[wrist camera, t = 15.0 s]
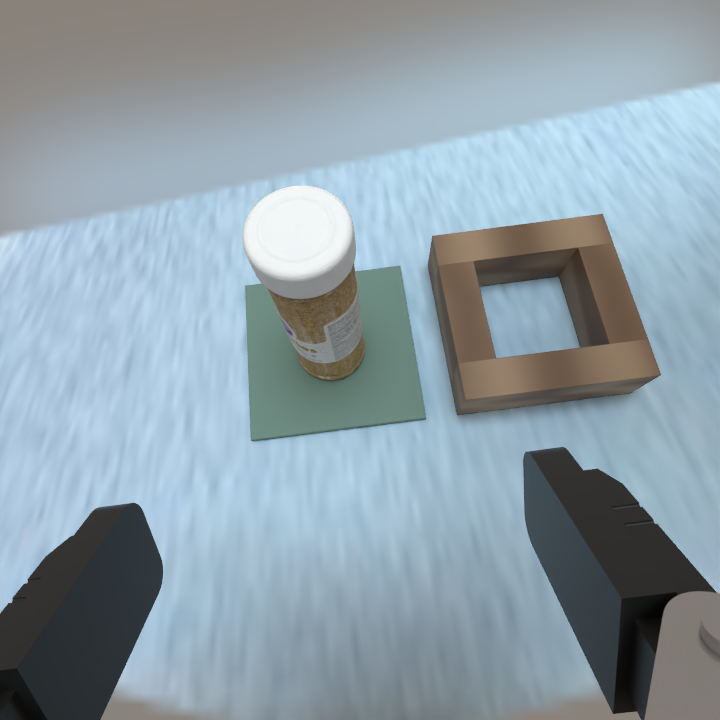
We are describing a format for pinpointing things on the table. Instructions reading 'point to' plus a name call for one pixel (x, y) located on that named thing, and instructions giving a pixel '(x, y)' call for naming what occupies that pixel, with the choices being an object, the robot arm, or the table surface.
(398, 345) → the rubber mat
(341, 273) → the sprinkles bottle
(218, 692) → the table surface
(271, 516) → the table surface
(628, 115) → the table surface
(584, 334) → the keeper collar
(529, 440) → the table surface
